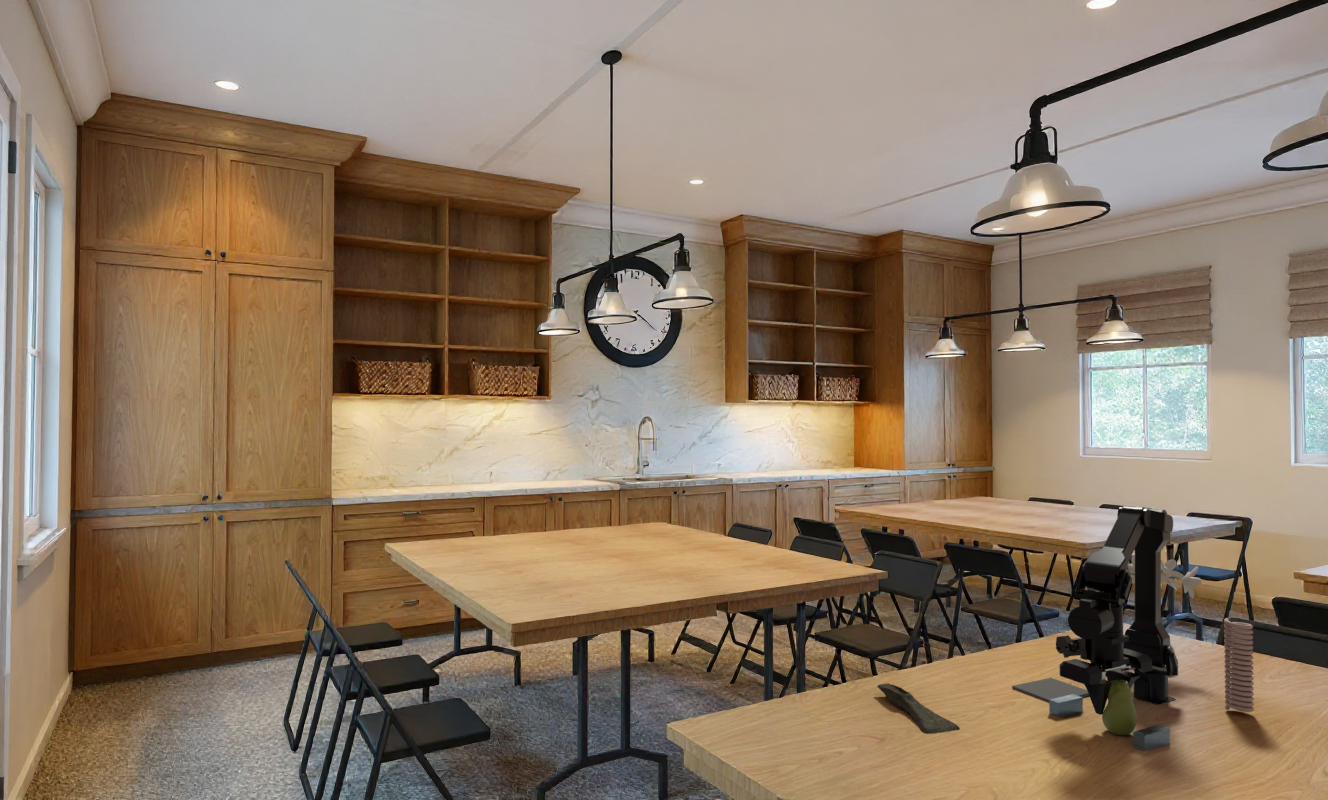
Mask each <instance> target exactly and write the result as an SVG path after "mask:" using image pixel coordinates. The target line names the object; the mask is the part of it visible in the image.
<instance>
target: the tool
mask: <svg viewBox="0 0 1328 800" xmlns="http://www.w3.org/2000/svg"><path fill="white" fill-rule="evenodd" d="M876 687H877V688H878V689H879V690H880V691H881V693H883V694H884V695H885V698H886V699H888V700H889V701H890V702H891V703H892V704H893V705H894V706H895V707H896V708H898V709H899V710H904V711H906V712H907V713H908V714H909V715H910V716H911V717H912V719H913V720H914V721H915V723H916V724H917V726H918V728H919V729H920V730H921V731H922V732H923V733H924V734H929V735H930V734H931V735H932V734H940V733H947V732H948V733H949V732H954V731H957V730H960V726H959V725H957V724H956V723H955V722H953V721H951V720H949V719H947V718H944V717H943V716H941V715H939V714H937V713H936V712H934V711H932V710H931V709H929V708H928V707H926V706H924V705H923V704H921V702H919V701H918V700H917V699H916V698H915V697H914V696H913V694H912V693H911V692H910V691H906V690H905V689H904V688H902V687H899V686H898V685H895V684H892V683H881V684H878V685H877V686H876Z"/></svg>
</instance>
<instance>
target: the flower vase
mask: <svg viewBox="0 0 1328 800" xmlns="http://www.w3.org/2000/svg"><path fill="white" fill-rule="evenodd" d="M1176 567H1177V561H1176V559H1169V560H1167V561H1166V562H1163V560H1162V559H1161V587H1162V586H1163V583H1165V584H1167V585H1169V586H1170V587H1171V588H1173V589H1174V590H1176V591H1178V588H1181V585H1179V583H1178V581H1177V580H1179V581H1181V582H1182V586H1183V592H1184V594H1187V593H1188V594H1189V596H1190V598H1191V599H1194V598H1195V590H1194V587H1198V586H1200V585H1201V584H1202V579H1201V578H1200V577H1195V576H1196V575H1197V573H1198V570H1199V566H1198V565H1197V566H1195V567H1194V568H1193V569H1192V570H1191V571H1187V572H1186V574H1185V575H1184V574H1182V573H1181V572H1179V571H1177V570H1174V569H1175V568H1176ZM1128 568H1129V572H1130V575H1131V577H1132V584H1133V585H1135V554H1134V555H1133V554H1132V556H1131V563H1130V561H1129V562H1128ZM1170 646H1171V647H1172V648H1173V650H1174V653H1175V654H1176V649H1175V646H1174V645H1173V643H1172V642H1171V641H1170Z"/></svg>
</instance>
